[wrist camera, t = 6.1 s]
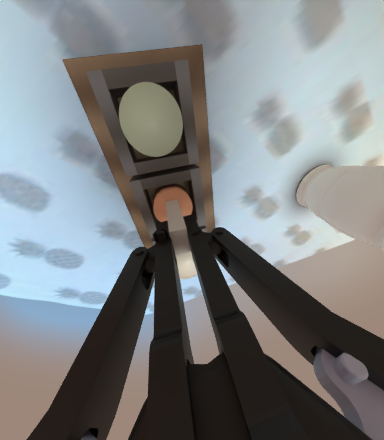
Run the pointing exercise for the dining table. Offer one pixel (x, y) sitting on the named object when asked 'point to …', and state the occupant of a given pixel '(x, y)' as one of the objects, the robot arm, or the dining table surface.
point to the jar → (347, 200)
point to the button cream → (186, 265)
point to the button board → (125, 153)
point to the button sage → (150, 119)
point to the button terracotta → (169, 194)
